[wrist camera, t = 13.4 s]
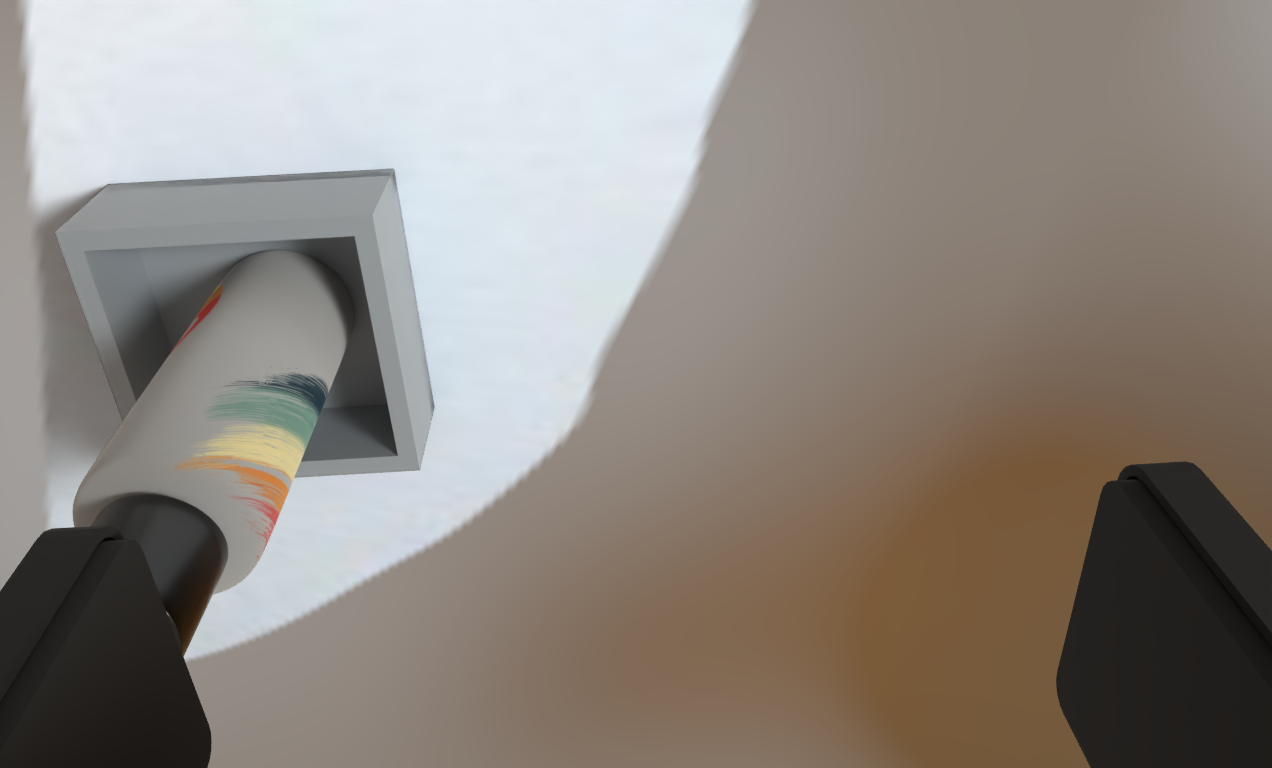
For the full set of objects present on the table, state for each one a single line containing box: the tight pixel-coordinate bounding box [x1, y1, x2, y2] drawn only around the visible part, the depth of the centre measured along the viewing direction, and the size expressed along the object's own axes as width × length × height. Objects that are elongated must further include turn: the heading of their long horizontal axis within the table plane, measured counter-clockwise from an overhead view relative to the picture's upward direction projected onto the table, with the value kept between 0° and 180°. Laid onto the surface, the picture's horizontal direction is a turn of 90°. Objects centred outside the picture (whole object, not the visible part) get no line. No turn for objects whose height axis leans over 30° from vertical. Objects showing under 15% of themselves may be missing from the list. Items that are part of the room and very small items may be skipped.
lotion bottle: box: [73, 250, 354, 657], centre depth 36 cm, size 6×6×20 cm
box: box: [55, 169, 434, 478], centre depth 43 cm, size 12×12×5 cm
